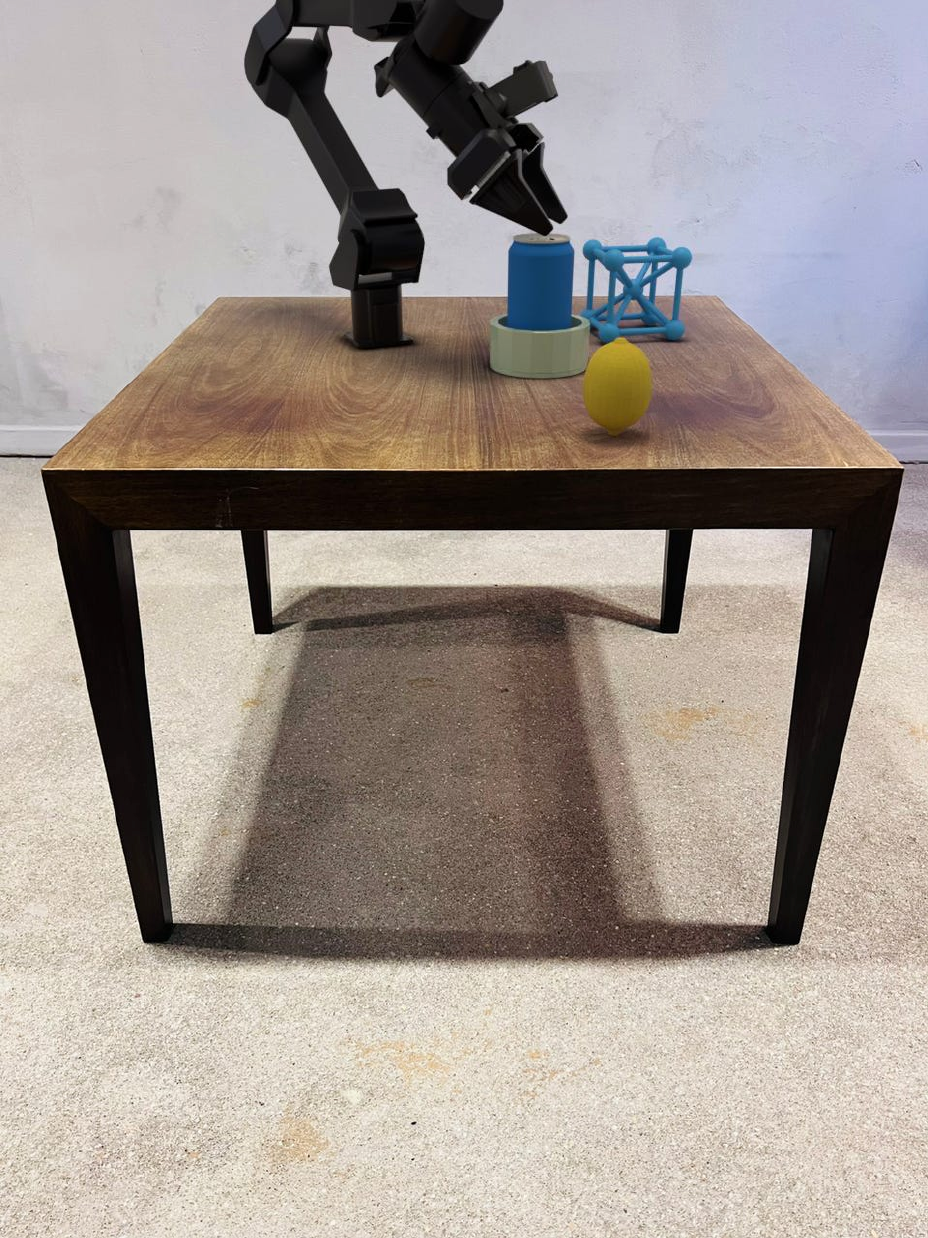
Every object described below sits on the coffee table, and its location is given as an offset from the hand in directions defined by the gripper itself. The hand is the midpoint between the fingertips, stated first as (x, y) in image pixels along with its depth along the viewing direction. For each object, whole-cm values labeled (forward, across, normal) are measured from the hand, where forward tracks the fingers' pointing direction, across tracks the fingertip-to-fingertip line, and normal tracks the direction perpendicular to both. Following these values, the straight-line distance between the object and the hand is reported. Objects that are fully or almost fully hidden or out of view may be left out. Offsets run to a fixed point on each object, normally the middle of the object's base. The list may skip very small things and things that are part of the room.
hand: (557, 226), depth 95 cm
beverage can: (+8, 0, +10) cm, 13 cm away
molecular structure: (+14, +17, +5) cm, 22 cm away
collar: (+8, 0, +11) cm, 14 cm away
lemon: (+16, -21, +4) cm, 27 cm away
